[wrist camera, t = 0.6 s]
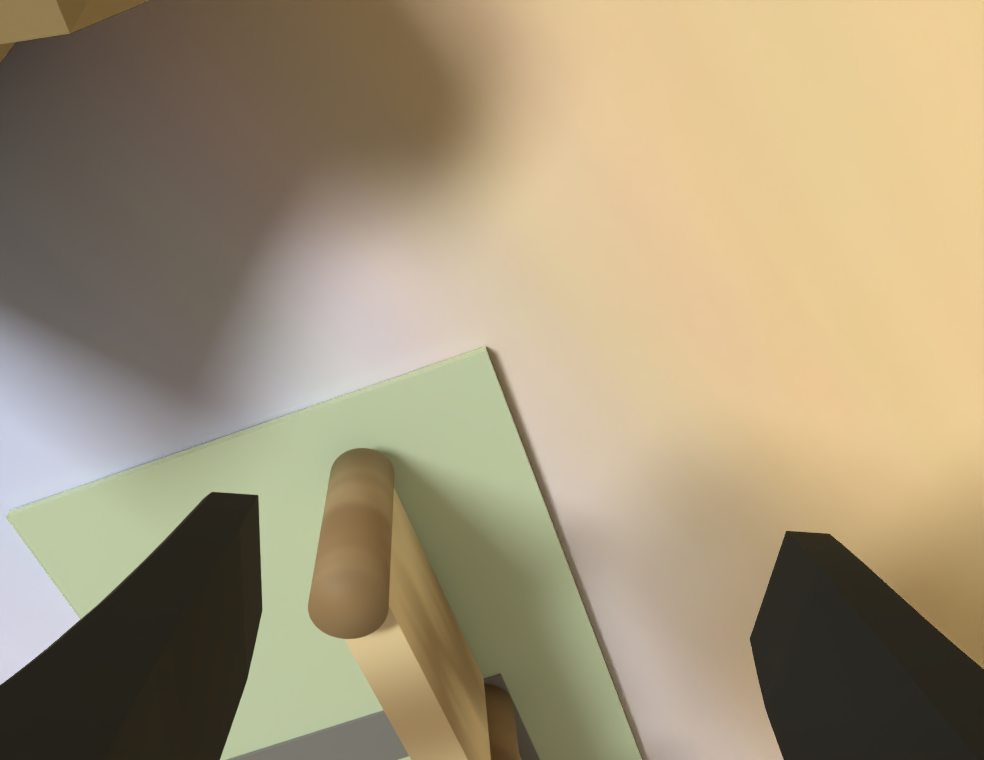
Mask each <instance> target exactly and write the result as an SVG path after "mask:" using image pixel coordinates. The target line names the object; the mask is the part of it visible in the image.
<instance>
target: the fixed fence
mask: <svg viewBox="0 0 984 760" xmlns="http://www.w3.org/2000/svg"><path fill="white" fill-rule="evenodd" d="M484 688H485V699H486V710H487V721H488V732H489V743H490V754H491V760H522V759H521V756H520V754H519V747H518V739H517V731H516V723H515V715H514V708H513V702H512V699H511V697H510V695H509V694H508V693H507V692H506V691H505V690H503V689H502V688H500V687H497V686H495V685H491V684H484Z"/></svg>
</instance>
